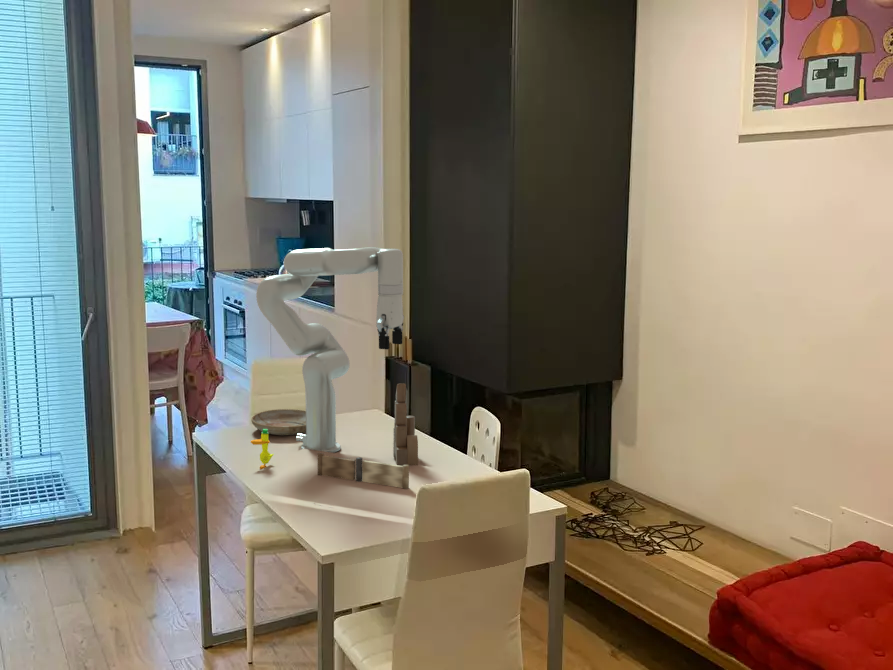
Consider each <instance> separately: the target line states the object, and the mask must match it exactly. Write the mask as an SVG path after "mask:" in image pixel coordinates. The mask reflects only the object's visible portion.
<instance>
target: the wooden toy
mask: <svg viewBox="0 0 893 670" xmlns="http://www.w3.org/2000/svg"><path fill="white" fill-rule="evenodd" d="M406 395H407V385H406V383H397V384H396V391H395V400H394V425H393V427H394V428H393V443H392V445H393V446H392V447H393V450H392V451H393V452H392V455H393V459H394V460H395V465H400V466H403V465H409V466H418V465H419V439H418V435H417V434H415V433H416V432H415V431H416V423H415V422H416V417H415V416H414V415H407V414H408V410H407V402H406V401H407V396H406Z"/></svg>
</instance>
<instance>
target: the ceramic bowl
mask: <svg viewBox="0 0 893 670" xmlns="http://www.w3.org/2000/svg"><path fill="white" fill-rule="evenodd" d="M251 424H252V425H253V426H254V427H255V428H256V429H257V430H259V431H260V432H263V429H268V435H275V436H293V435H297V434H298V433H300V434H306V410H303V409H291V408H289V409H288V408H284V409H283V408H282V409H281V408H279V409H271V410H270V409H269V410H265V411H264V410H263V411H259V412H258V413H255V414H254V415H252V417H251Z"/></svg>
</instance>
